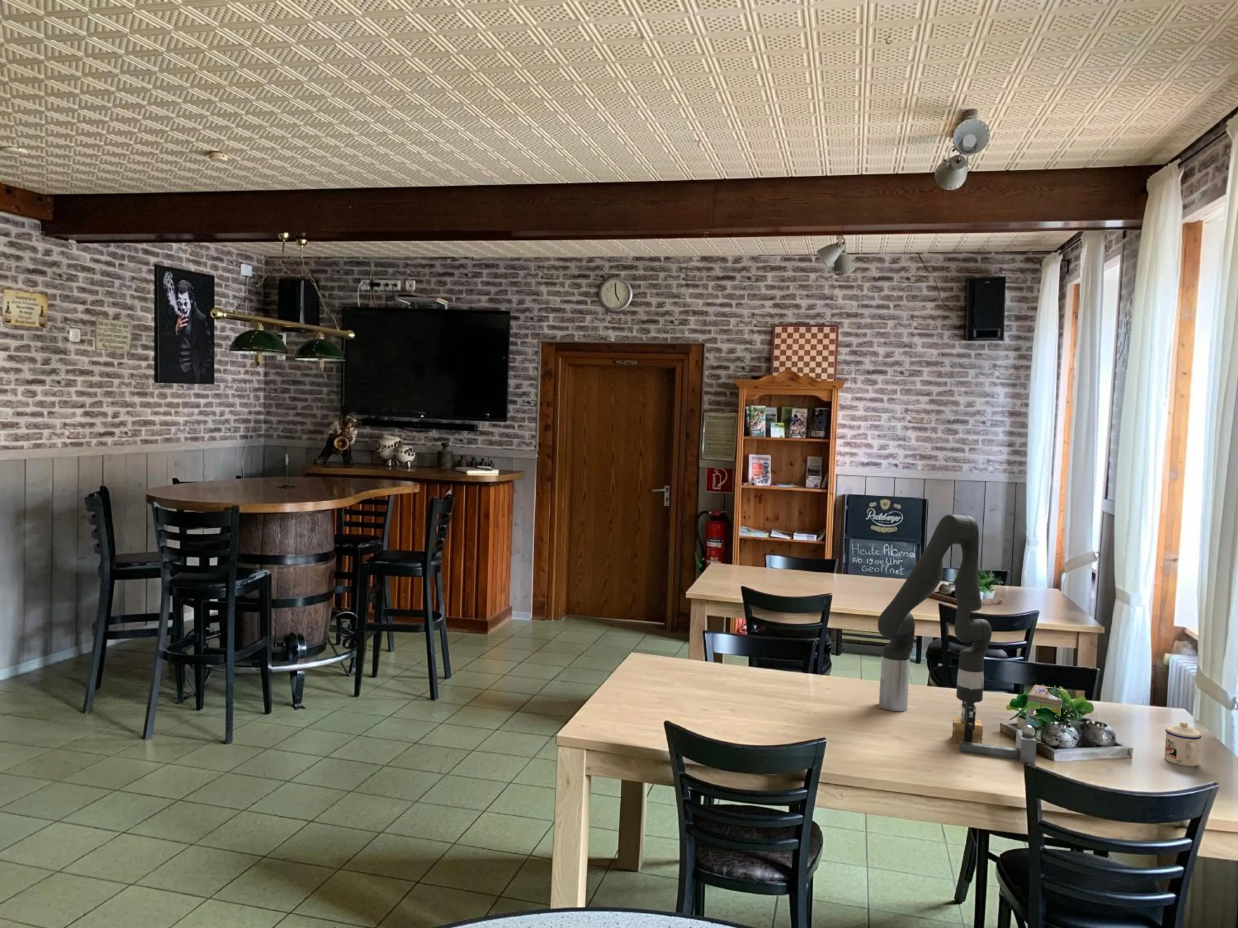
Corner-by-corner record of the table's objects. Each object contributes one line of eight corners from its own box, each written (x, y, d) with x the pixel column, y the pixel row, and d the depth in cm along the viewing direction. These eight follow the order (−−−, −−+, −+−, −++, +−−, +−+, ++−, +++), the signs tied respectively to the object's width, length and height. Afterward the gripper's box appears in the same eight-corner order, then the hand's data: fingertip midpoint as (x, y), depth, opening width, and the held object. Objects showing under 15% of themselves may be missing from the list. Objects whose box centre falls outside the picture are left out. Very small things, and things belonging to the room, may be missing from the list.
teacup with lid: (1158, 754, 279) (1160, 716, 279) (1191, 757, 278) (1193, 718, 278) (1175, 769, 268) (1178, 729, 267) (1210, 772, 266) (1213, 731, 266)
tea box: (1059, 748, 282) (1062, 700, 281) (1023, 741, 287) (1026, 693, 286) (1065, 735, 294) (1068, 688, 294) (1030, 728, 300) (1033, 683, 299)
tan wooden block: (952, 742, 284) (953, 722, 283) (951, 736, 289) (952, 717, 289) (981, 745, 282) (983, 725, 281) (979, 739, 287) (980, 720, 287)
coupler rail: (961, 755, 272) (962, 722, 272) (958, 745, 281) (959, 713, 280) (1036, 764, 267) (1038, 730, 266) (1030, 754, 276) (1032, 721, 275)
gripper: (954, 676, 292) (952, 729, 293) (959, 688, 278) (956, 744, 279) (980, 679, 290) (977, 732, 291) (986, 691, 277) (983, 747, 277)
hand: (967, 738), depth 285 cm, fingers closed on tan wooden block, 5 cm apart
